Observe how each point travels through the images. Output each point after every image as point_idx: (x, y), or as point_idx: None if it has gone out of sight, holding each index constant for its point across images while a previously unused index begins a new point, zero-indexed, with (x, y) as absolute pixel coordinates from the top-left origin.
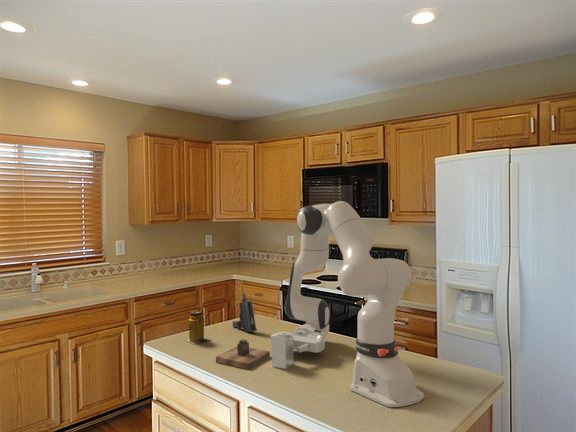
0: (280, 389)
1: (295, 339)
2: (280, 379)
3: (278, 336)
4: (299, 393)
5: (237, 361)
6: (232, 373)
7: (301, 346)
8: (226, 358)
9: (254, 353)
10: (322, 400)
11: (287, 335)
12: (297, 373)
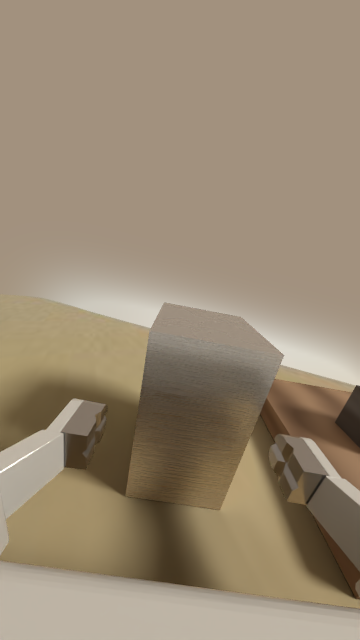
0: (124, 336)
1: (173, 604)
2: (137, 361)
3: (235, 325)
4: (85, 330)
5: (287, 381)
6: None
7: (60, 418)
8: (330, 390)
9: (356, 466)
10: (39, 319)
11: (200, 335)
12: (91, 396)
